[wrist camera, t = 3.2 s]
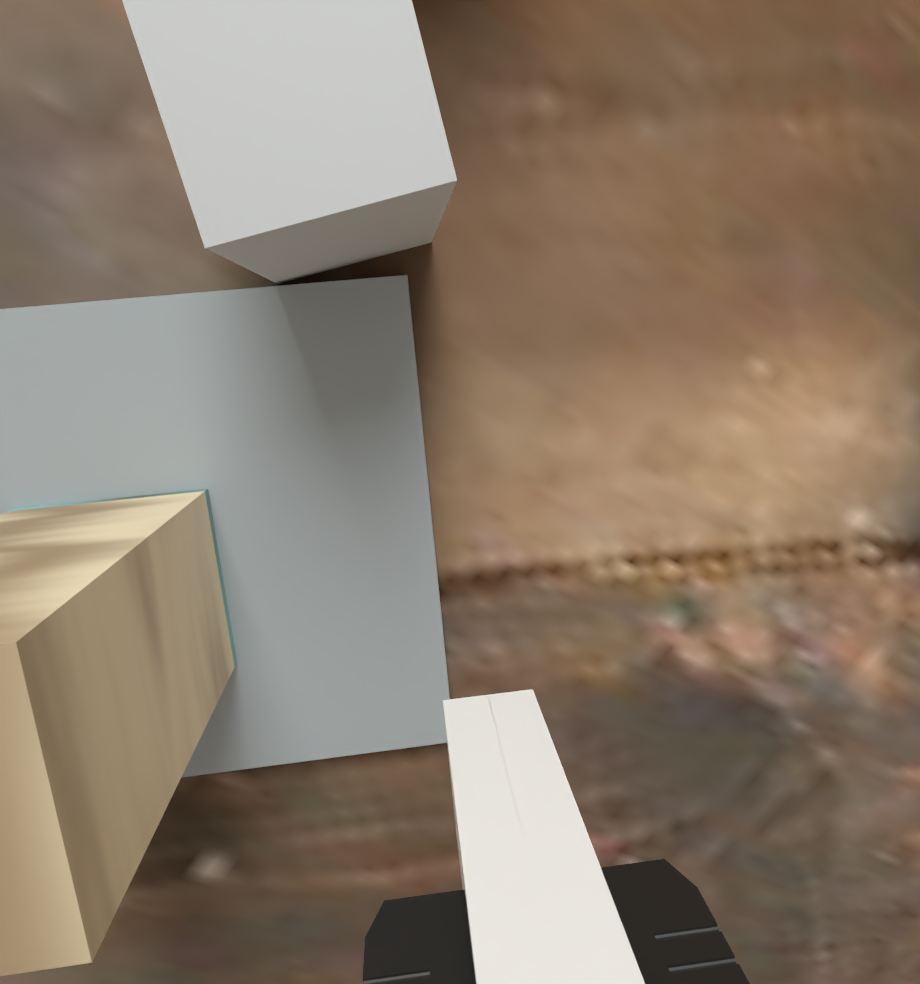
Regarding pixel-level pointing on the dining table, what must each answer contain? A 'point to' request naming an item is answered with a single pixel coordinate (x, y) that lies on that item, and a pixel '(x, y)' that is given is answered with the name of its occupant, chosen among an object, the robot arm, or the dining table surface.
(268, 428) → the slate mat
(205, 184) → the grey painted block
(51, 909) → the birch block
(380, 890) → the dining table surface
